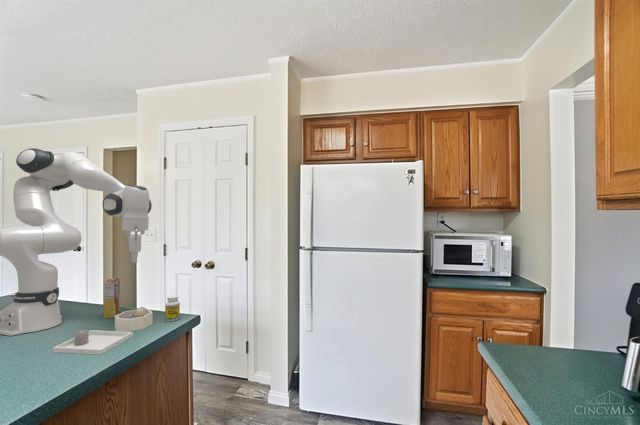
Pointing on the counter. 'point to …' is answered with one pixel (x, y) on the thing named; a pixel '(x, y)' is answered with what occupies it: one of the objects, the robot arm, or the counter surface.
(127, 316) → the grey rounded lump
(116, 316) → the bowl
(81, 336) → the pebble
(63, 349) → the tray
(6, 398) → the counter surface
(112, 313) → the candy box
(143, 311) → the pebble
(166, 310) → the supplement bottle
